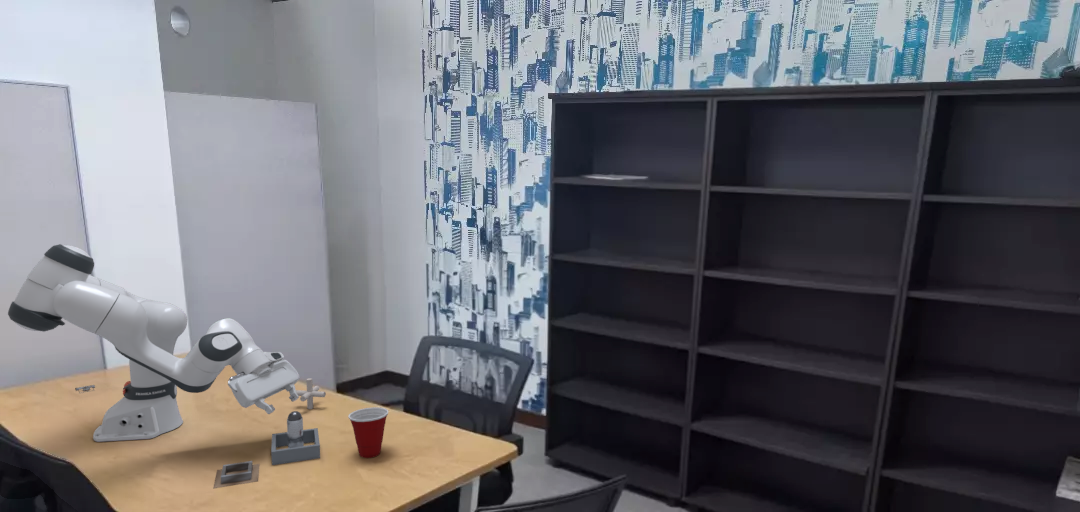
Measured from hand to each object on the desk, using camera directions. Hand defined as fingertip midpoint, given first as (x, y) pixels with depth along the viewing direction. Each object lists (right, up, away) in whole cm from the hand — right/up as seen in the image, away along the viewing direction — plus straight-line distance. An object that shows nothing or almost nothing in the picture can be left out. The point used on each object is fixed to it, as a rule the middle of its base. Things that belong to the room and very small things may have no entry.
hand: (284, 405), depth 172 cm
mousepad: (-92, -6, +47) cm, 104 cm away
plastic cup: (+23, -14, +2) cm, 27 cm away
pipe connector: (-5, -9, +33) cm, 35 cm away
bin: (+4, -14, -1) cm, 14 cm away
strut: (+4, -13, -1) cm, 13 cm away
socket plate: (-6, -15, -14) cm, 22 cm away
